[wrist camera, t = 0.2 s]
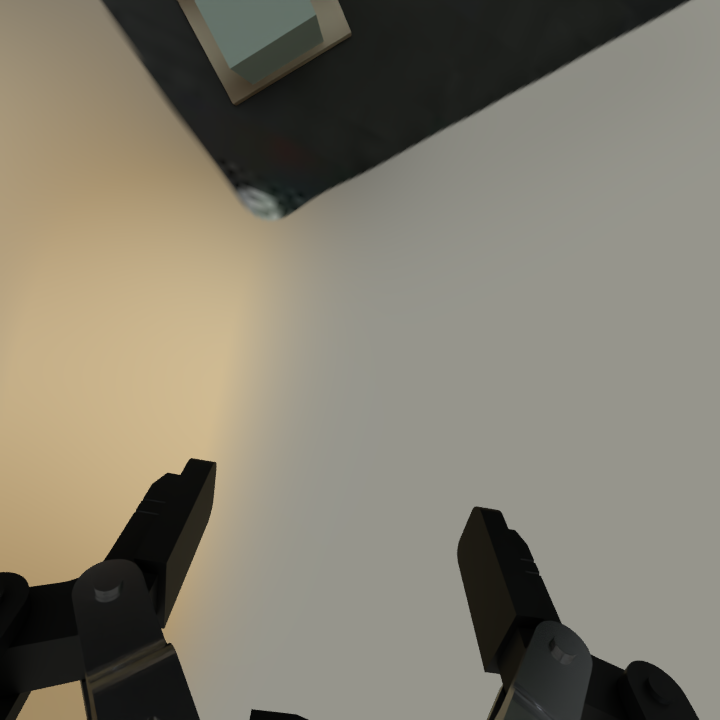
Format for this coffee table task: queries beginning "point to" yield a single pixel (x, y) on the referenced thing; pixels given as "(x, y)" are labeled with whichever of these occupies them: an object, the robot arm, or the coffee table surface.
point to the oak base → (241, 89)
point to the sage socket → (261, 33)
